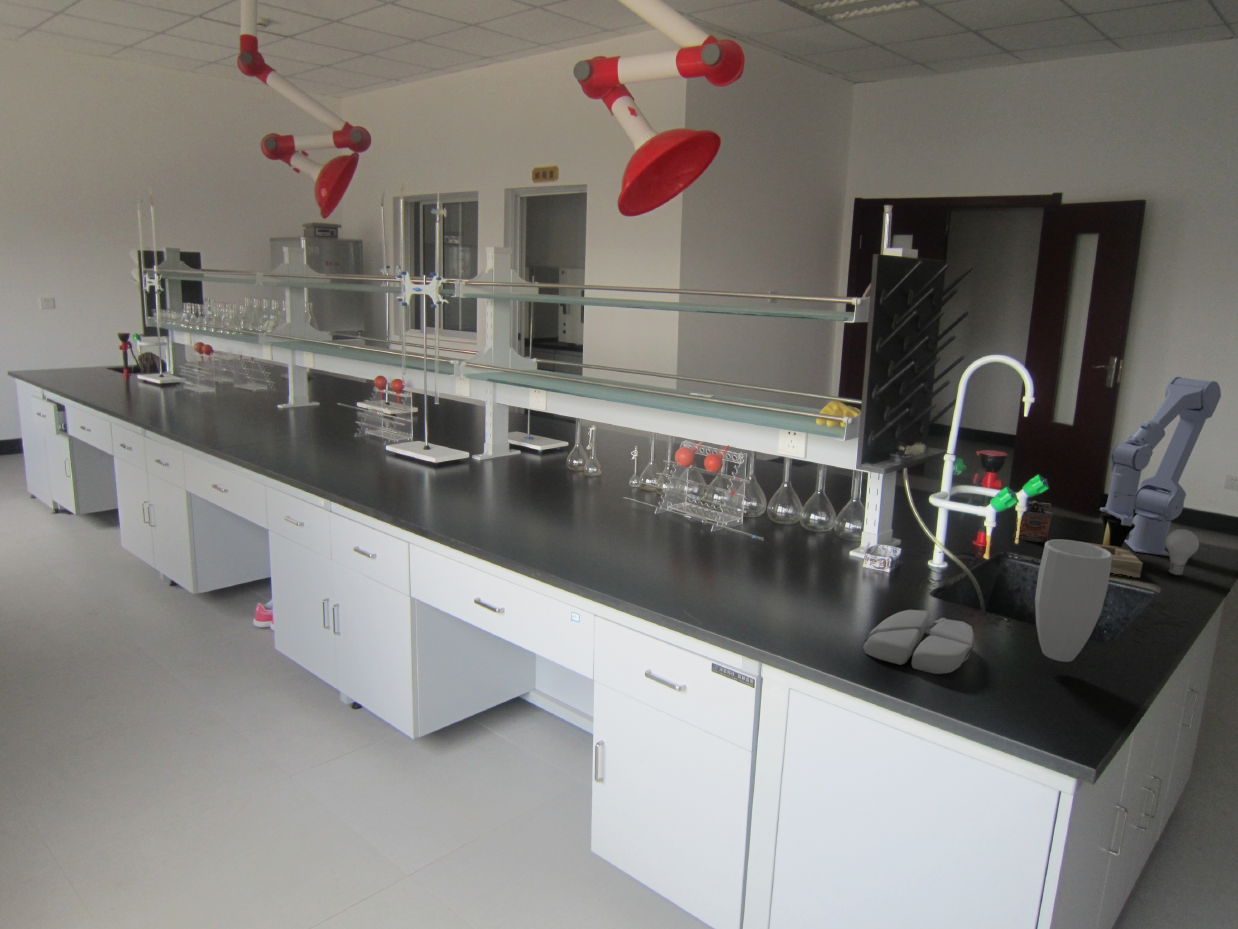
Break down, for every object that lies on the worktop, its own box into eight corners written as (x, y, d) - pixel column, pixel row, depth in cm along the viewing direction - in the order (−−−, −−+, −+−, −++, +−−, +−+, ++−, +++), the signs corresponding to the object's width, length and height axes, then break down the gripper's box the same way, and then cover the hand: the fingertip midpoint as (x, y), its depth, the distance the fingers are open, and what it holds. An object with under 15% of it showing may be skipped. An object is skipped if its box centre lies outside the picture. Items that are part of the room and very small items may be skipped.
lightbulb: (1185, 572, 193) (1195, 528, 190) (1195, 581, 187) (1206, 535, 184) (1154, 568, 195) (1164, 524, 192) (1164, 577, 189) (1174, 531, 186)
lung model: (852, 654, 139) (893, 622, 160) (959, 689, 130) (987, 649, 151) (859, 617, 138) (899, 589, 159) (967, 649, 129) (995, 615, 150)
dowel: (1098, 551, 205) (1105, 521, 203) (1116, 554, 204) (1123, 523, 202) (1103, 556, 201) (1109, 525, 200) (1121, 559, 200) (1128, 527, 199)
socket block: (1069, 554, 202) (1071, 540, 201) (1124, 561, 199) (1126, 547, 198) (1081, 569, 190) (1084, 555, 190) (1139, 577, 187) (1142, 563, 186)
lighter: (1015, 538, 212) (1021, 501, 210) (1012, 535, 215) (1018, 498, 213) (1049, 542, 210) (1056, 505, 208) (1045, 539, 214) (1052, 502, 211)
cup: (1030, 651, 144) (1051, 534, 139) (1096, 672, 137) (1121, 550, 133) (1012, 670, 136) (1034, 547, 131) (1081, 693, 130) (1107, 564, 125)
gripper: (1096, 484, 207) (1086, 535, 210) (1112, 497, 194) (1101, 552, 197) (1127, 487, 205) (1117, 539, 208) (1146, 501, 192) (1135, 556, 195)
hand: (1112, 546), depth 202 cm, fingers closed on dowel, 4 cm apart
